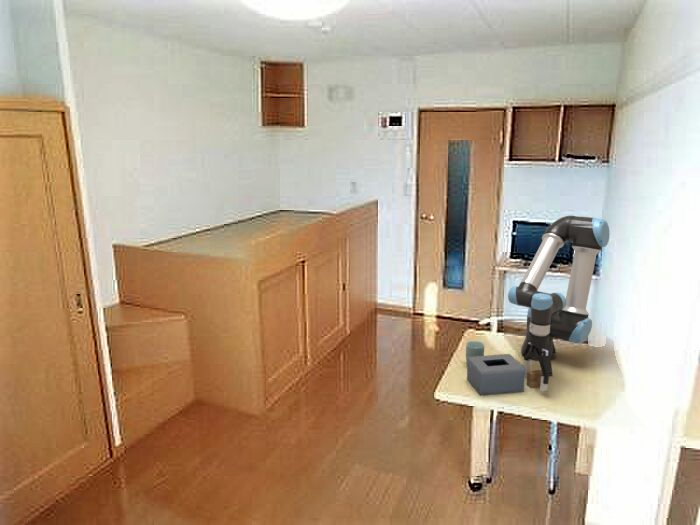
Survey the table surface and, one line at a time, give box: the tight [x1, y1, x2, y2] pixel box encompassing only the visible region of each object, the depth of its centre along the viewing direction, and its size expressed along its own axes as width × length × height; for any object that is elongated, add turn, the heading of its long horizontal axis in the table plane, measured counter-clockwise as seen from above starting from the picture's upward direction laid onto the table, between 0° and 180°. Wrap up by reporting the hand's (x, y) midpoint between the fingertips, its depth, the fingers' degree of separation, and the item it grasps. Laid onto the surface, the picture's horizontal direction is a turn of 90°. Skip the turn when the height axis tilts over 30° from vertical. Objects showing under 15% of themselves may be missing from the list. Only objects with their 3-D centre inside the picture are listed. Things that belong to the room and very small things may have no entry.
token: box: [526, 369, 543, 389], centre depth 207 cm, size 6×3×6 cm, turn 98°
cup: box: [465, 340, 485, 365], centre depth 225 cm, size 8×8×10 cm
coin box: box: [466, 353, 526, 397], centre depth 207 cm, size 18×14×10 cm
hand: (535, 382), depth 207 cm, fingers open, 13 cm apart
